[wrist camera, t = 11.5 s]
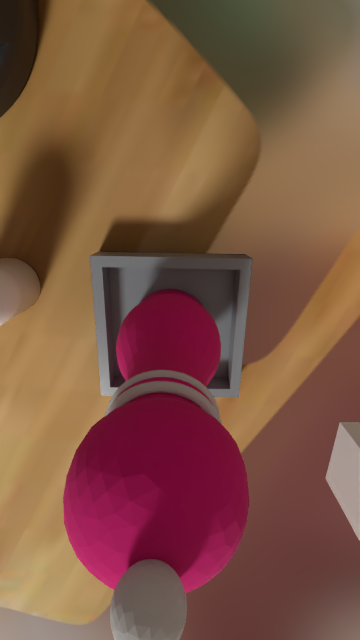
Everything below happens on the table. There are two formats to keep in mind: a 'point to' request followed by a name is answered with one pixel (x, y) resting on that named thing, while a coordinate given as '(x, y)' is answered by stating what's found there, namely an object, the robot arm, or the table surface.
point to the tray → (172, 273)
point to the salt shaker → (16, 288)
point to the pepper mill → (158, 472)
